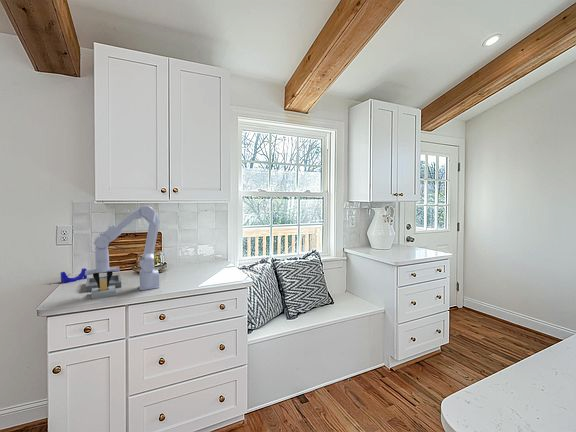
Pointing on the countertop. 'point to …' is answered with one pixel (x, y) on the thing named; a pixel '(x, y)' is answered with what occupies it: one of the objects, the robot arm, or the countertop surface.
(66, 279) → the cable clip
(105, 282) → the fuse
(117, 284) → the tray
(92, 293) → the fuse holder
